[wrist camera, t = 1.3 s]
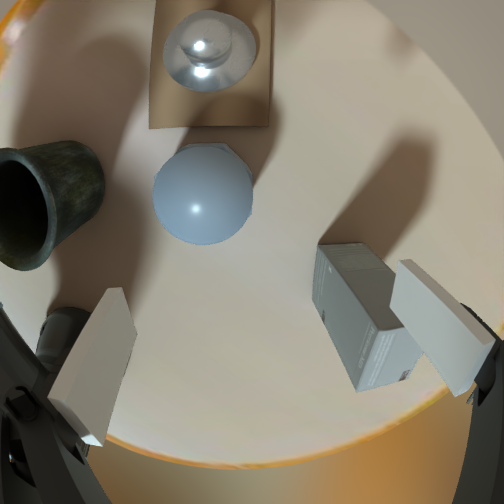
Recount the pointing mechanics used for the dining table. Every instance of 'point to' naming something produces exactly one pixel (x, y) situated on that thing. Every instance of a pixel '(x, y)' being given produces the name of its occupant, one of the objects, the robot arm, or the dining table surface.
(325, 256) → the skincare box
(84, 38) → the dining table surface
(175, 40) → the stud
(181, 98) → the base board
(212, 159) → the cap
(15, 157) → the mug
